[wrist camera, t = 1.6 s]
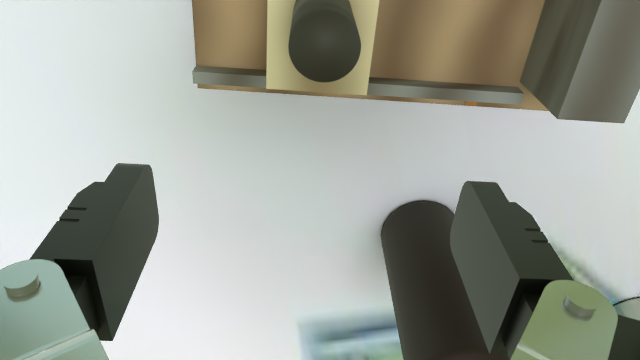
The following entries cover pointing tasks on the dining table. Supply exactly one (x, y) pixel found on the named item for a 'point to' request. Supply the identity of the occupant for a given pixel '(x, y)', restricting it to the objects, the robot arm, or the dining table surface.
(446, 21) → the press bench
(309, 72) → the block
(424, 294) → the bottle
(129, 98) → the dining table surface
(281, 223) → the dining table surface
